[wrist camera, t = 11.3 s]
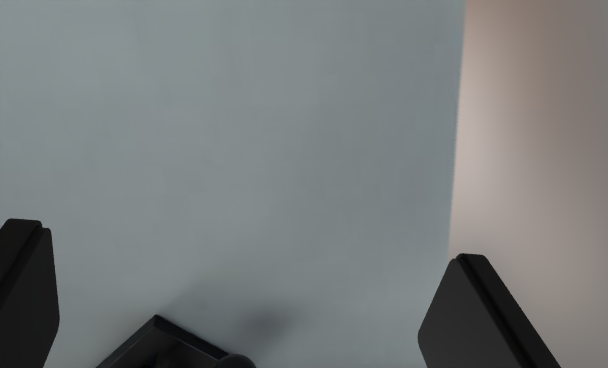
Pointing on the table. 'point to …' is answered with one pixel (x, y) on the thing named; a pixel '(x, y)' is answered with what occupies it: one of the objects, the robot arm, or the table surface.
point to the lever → (235, 362)
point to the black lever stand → (163, 349)
